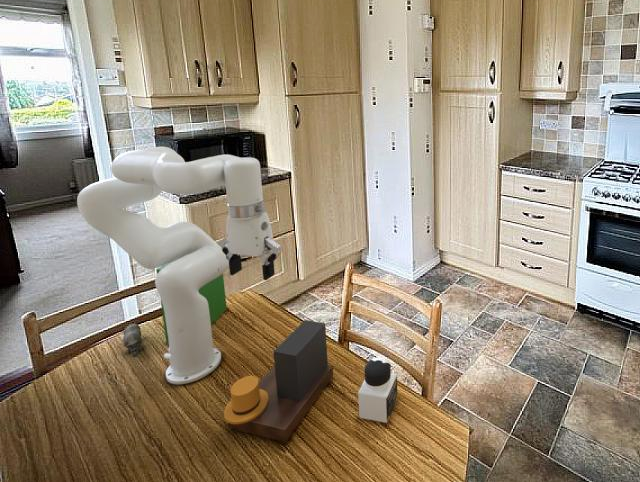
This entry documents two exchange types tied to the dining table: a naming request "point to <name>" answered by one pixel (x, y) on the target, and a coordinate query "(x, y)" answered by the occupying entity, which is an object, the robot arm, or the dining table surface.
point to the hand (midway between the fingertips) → (252, 275)
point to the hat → (245, 401)
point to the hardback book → (212, 293)
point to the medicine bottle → (378, 391)
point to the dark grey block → (300, 360)
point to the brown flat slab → (283, 408)
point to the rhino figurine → (132, 339)
